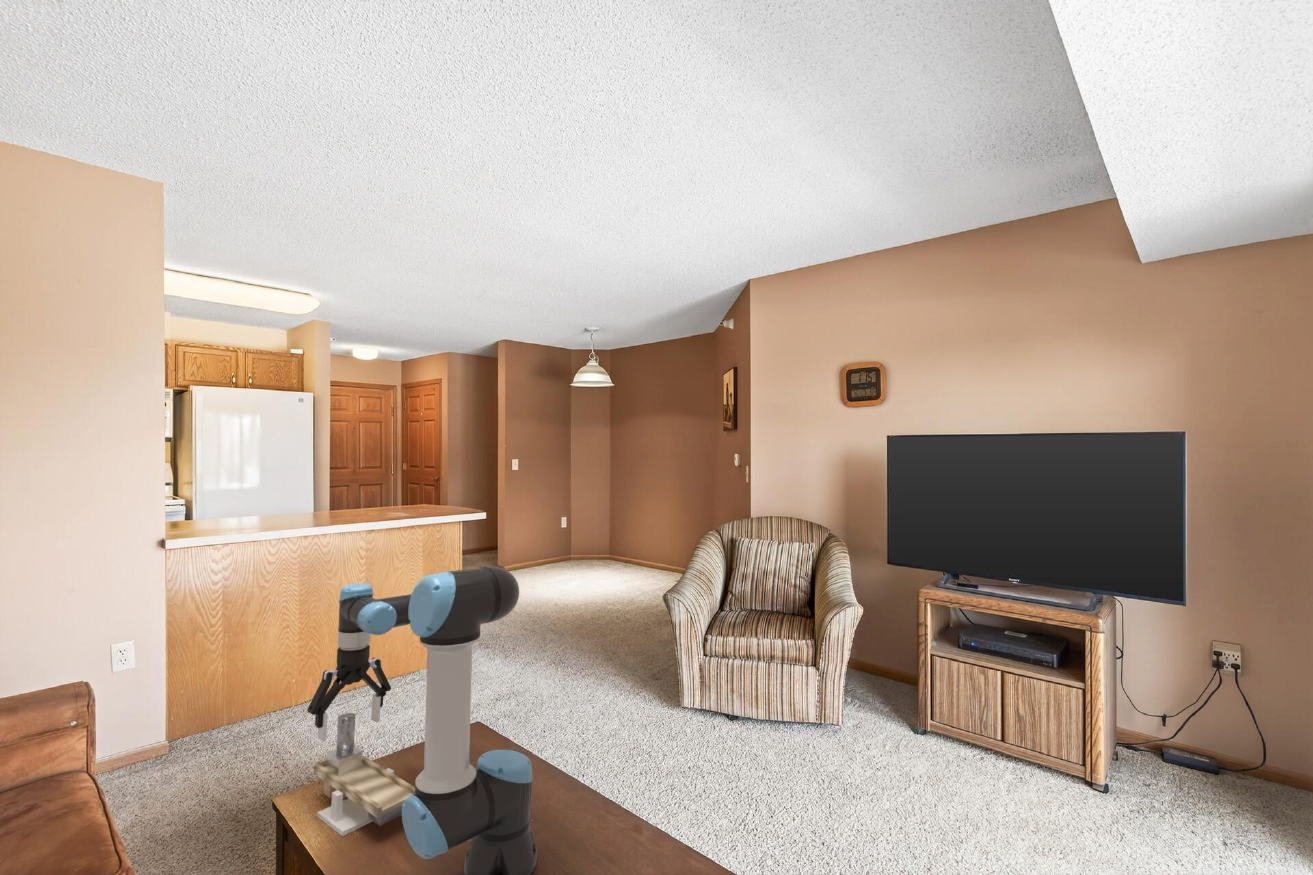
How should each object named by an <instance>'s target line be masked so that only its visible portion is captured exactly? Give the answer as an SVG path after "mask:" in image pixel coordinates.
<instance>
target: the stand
mask: <svg viewBox="0 0 1313 875" xmlns="http://www.w3.org/2000/svg"><path fill="white" fill-rule="evenodd" d="M385 769H386V770H387V771H389V772H391V773H392V774H394V775H395V770H393V769H392V768H390V767H388V768H385ZM323 783H324V784H323V795H325V796H326V797H328V798H329V799H330V798H331V802H330V804H331V805H330V806H328V807H326V808H324V809H322V810H319V811H317V818H319V819H320V820H321V821H322V822H324V823H325V824H326V825H327V826H328V827H330V828H331V829H333V830H334V831H335V832H336V833H338V834H339V835H340V836H341V837H343V836H345V835H348V834H350V833H352V832H354V831H356V830H358V829H360V828H362V827H364V826H366V825H368V824H370V823H372V822H373V821H372V820H371V819H369V818H368V811H366V810H365V809H363V808H362V807H361V806H359V805H358V804H356V803H355V802H354V801H352V800H351V799H349V798H348V797H347V798H346V799H344V798H343V793H341V792H340V791H339V790H336V789H335V788H334V787H332V786H331V785H329V784H328V783H326V782H325V781H324V780H323Z"/></svg>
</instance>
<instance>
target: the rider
mask: <svg viewBox="0 0 1313 875" xmlns="http://www.w3.org/2000/svg"><path fill="white" fill-rule="evenodd" d="M355 730H356V714H355V712H354V713H353V712H346V713H341V714H339V715H338V716H337V731H336V748H335V749H334V750H331V751H328V752H326V753H327V754H326V758H327V768H326V769H328V770H329V771H331V772H332V773H334V774H335V775H337V776H341V775H343V774H346V773H348V772H351V771H353V770H355V769H358V768H360V767H362V755H363V753H364V752H363V750H361V749H360V748H358V747H357V746H355V734H356V733H355V732H356V731H355Z"/></svg>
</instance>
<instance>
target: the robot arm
mask: <svg viewBox="0 0 1313 875" xmlns="http://www.w3.org/2000/svg"><path fill="white" fill-rule="evenodd" d="M373 596H374V590H373V585H371V584H369V583H352V584H347V585H344V586H343V587H342V588H341V589H340V594H339V600H338V602H339V603H338V604H339V606H338V607H339V608H338V628H337V629H338V630H337V632H338V633H337V646H338V647H337V650H336V669H334V670H327V669H326V670H324V671H323V672H322V678H321V680H320V683H319V684H318V687H317V689H316V691H315V693H314V695H313V698H312V699H311V701H310V703H309V705H308V707H307V710H306V711H307V713H309V714H310V715H312V716H314V715H315V719H314V725H315V727H316V728H317V730H318V731H317V739H318V740H320V741H321V742H326V741H327V736H328V735H327V732H328V716H329V714H328V713H327V712H326V711H327V709H328V708H329V707H330V705H332V703H333V701H335V699H336V697H337V696H338V695H339V693H340V691H342V689H344V688H345V687H346V686H349V685H353V684H354V683H360V682H361V681H363V682H364V683H365V684H366V685H367V686H368V687H369V688H370V689H371V690H372V691H373V692H374V694H372V695H371V696H372V698H371V699H372V700H371V714H370V716H371V717H370V718H371V720H372V722H374V723H380V719H381V717H380V716H381V708H382V707H383V705H384V697H386V695H387V692H390V691H391V690H392V687H391V684H390V681H389V680H388V678H387V676H386V674H385V672H384V670H383V668H382V661H381V659H379V658H377V657H372V658H371V660H370V652H371V646H370V643H371V635H374V636H381V635H384V634H385V635H386V634H387V633H388V632H390V631H391V630H392V629H394V628H398V627H403V626H404V627H405V626H408V625H409V627H410V629H411V631H412V632H413V634H414V635H415V636H417V637H419V642H420V644H421V645H422V646H423V647H424V648H426V650H427V659H426V660H427V661H426V662H427V663H426V693H425V694H426V695H425V721H424V723H425V724H424V726H425V727H424V749H423V750H424V753H423V754H424V757H423V770H422V771H421V772H420V773H419V774H418V775H417V777H416V778H415V781H414V783H415V784H414V787H415V794H414V795H410V796H409V797H408V798H406V799H405V801H404V803H403V805H402V815H401V820H402V824H403V825H402V826H403V829H404V833H405V835H406V839H407V841H408V843H409V844H410V846H411V849H412V850H413V852H415V854H417V855H418V856H419V857H420V858H421V859H427V860H428V859H432V858H434V857H436V856H439V855H441V854H446V853H447V852H448V851H450V850H451V849H453V848H455V847H457V846H458V845H461V844H464V843H465V842H467V841H469V840H471V842H470V845H469V848H468V850H467V851H466V854H465V858H464V868H463V869H464V870H463V871H464V872H463V873H464V875H530V874H531V873H532V872H534V871H535V869H536V867H537V863H538V862H537V859H538V858H537V857H538V851H537V846H536V843H535V842H536V841H535V838H534V836H533V832H532V828H531V808H532V807H531V805H532V785H533V784H532V783H533V769H532V768H533V766H532V765H533V764H532V762H531V760H530V758H529V757H528V756H527V755H525V754H524V753H521V752H520V751H516V750H510V749H493V750H490V751H489V750H488V751H486V752H484V753H482V754H481V755H480V756H479V758H478V759H477V762H476V768H475V766H473V765H472V764H471V763H470V746H471V745H470V738H471V737H470V736H471V735H470V734H471V707H472V706H471V703H472V701H471V700H472V699H471V698H472V672H473V671H472V667H473V666H472V665H473V662H472V661H473V646H474V645H475V644H476V643H477V642H478V640H480V638H481V626H482V625H484V624H487V623H488V624H489V623H492V622H493V623H494V622H496V621H499V620H501V619H503V618H504V617H506V616H508V615H509V614H510V613H511V612H512V611H513V610H514V609H515V607H516V605H517V603H518V602H519V598H520V587H519V584H518V581H517V579H516V577H515V576H514V575H513V574H512V573H511V572H510V571H509V570H507V569H505V568H502V567H499V566H483V567H476V568H467V569H459V570H451V571H441V572H439V573H434V574H429V575H426V576H424V577H422V578H421V579H420V580H419V581H418V582H417V584H416V585H415V586H414V588H413V590H412V592H411V594H405V595H404V594H403V595H396V596H391V597H383V598H374V597H373ZM370 668H371V669H372V671H373V672H374V675H375V677H376V679H377V681H378V683H379V684H377V683H376V681H374V680H373V679H372V677H371V676H370V675H369V674H368V673H367V672H368V670H369V669H370ZM335 677H336V678H335ZM334 679H335V680H334ZM333 680H334V681H333ZM332 681H333V682H332ZM331 684H332V685H331ZM379 685H380V686H381V687H380V686H379ZM535 866H536V867H535ZM534 868H535V869H534ZM533 870H534V871H533ZM532 874H533V873H532ZM532 874H531V875H532Z"/></svg>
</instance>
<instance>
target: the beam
mask: <svg viewBox="0 0 1313 875" xmlns="http://www.w3.org/2000/svg"><path fill="white" fill-rule="evenodd" d="M326 768H327V757H326V758H325V759H321V760H319V761H318V763H316V764H314V766H313V774H314V775H315V776H317V777H318V778H320V780H322V781H323V782H324V781H325V782H326V783H328V784H329V785H331V786H332V787H334V788H335V789H336V790H339V791H340V792H341V793H343V799H344V798H346V797H347V799H348V798H349V799H351V800H352V801H354V802H355V803H356V804H358V805H359V806H361V807H362V808H363V809H365V810H366V811H368V818H369V819H371V820H372V822H373V823H375V824H376V825H377V826H380V827H381V826H383V825H384V824H387V823H389V822H391V821H393V820H394V819H396V818H398V817H402V805H403V803H404V801H405V799H406V798H408V797H409V796H410V795H414V794H415V785H413V784H410V783H409V782H407V781H405V780H404V779H402V778H401V777H399V776H397V775H396V774H395V773H394V774H392V773H391V772H389V771H387V770H386V769H387V768H384V767H383V766H381V765H379V764H378V763H376V762H374V761H372V760H371V759H369V758H367V757H366V756H364V755H363V754H362V767H360V768H358V769H355V770H353V771H351V772H348V773H346V774H343V775H341V776H337V775H335V774H334V773H332V772H331V771H329V770H328V769H326Z"/></svg>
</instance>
